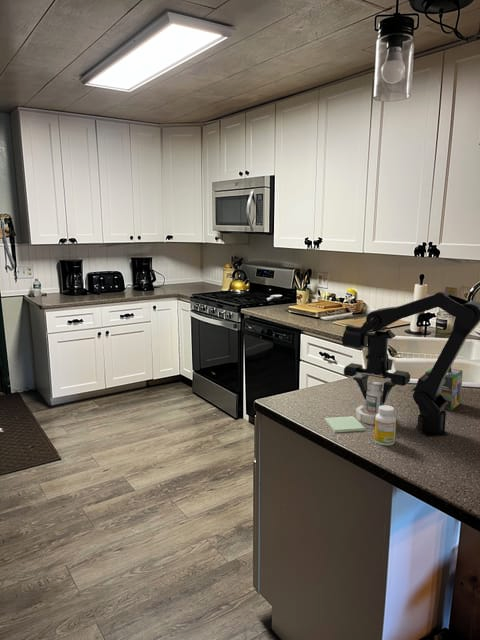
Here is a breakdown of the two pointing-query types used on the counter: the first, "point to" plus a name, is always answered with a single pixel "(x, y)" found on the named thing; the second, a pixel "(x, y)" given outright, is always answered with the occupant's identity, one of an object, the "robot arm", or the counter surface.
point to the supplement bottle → (385, 426)
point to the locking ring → (364, 416)
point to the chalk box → (451, 387)
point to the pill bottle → (374, 398)
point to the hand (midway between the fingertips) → (374, 401)
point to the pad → (344, 424)
